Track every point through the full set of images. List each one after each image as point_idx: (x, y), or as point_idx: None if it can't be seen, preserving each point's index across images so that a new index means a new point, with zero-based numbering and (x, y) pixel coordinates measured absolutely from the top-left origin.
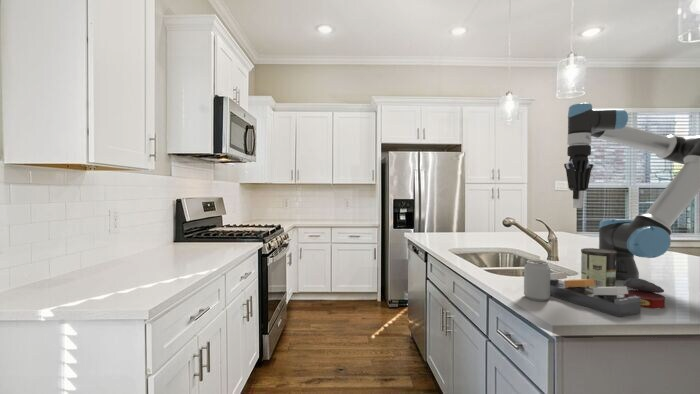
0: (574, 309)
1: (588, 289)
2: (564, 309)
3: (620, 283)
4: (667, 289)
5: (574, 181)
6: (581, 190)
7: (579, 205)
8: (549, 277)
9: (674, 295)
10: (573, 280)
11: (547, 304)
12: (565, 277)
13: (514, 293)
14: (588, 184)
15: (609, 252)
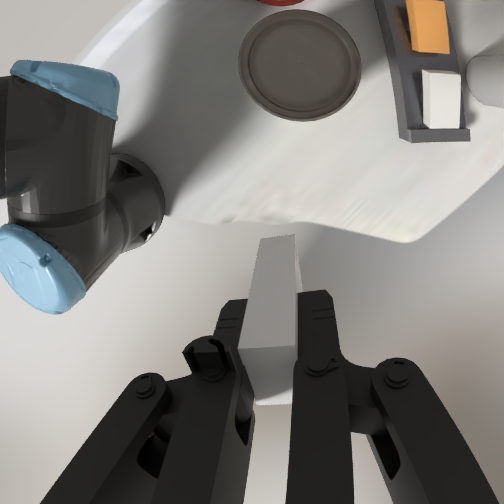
0: (460, 4)
1: (402, 17)
2: (476, 13)
3: (172, 125)
4: (112, 68)
5: (450, 448)
6: (240, 367)
7: (294, 250)
8: (500, 55)
9: (144, 22)
10: (447, 28)
11: (487, 45)
12: (427, 70)
13: (498, 124)
14: (105, 416)
15: (287, 27)
